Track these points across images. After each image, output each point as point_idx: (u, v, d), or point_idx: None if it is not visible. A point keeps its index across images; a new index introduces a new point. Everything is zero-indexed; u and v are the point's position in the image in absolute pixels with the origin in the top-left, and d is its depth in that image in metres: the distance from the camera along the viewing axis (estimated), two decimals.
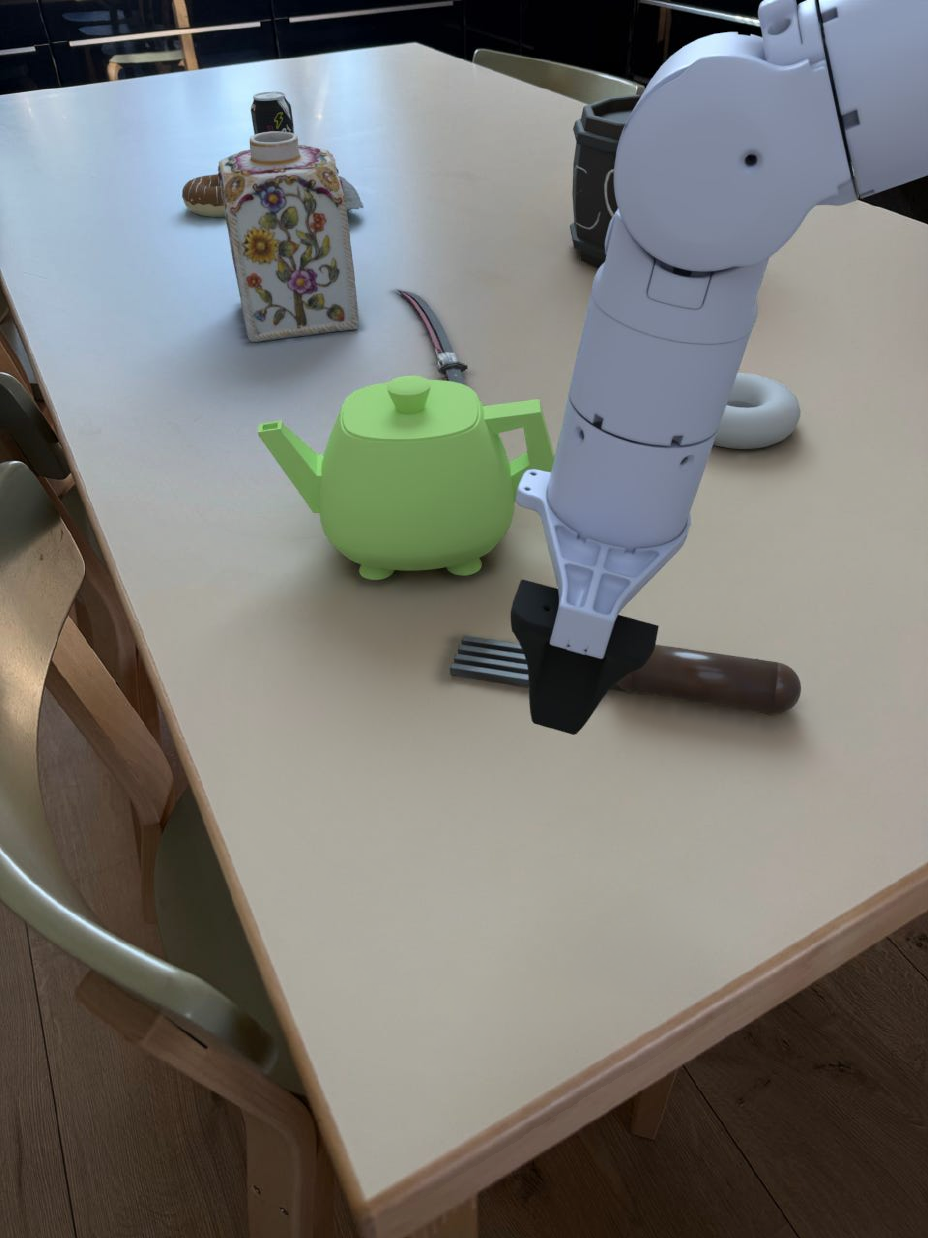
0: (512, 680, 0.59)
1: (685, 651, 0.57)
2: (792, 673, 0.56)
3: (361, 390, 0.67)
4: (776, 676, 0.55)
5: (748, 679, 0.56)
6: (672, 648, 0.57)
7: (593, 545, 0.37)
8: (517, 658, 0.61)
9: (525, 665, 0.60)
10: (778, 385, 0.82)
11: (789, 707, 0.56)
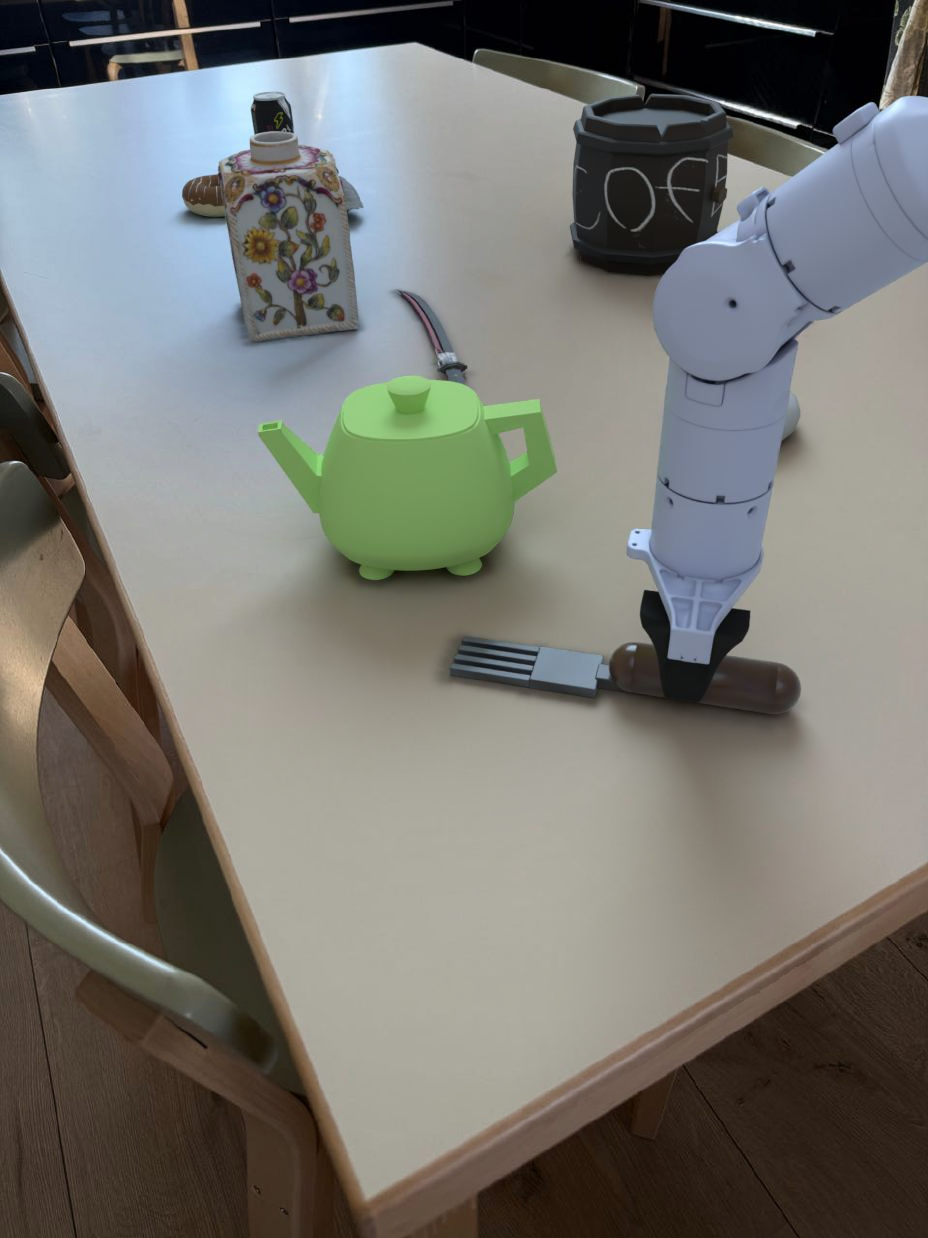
0: (512, 680, 0.59)
1: None
2: (792, 673, 0.56)
3: (361, 390, 0.67)
4: (776, 676, 0.55)
5: (748, 679, 0.56)
6: None
7: (690, 581, 0.50)
8: (517, 658, 0.61)
9: (525, 665, 0.60)
10: None
11: (789, 707, 0.56)
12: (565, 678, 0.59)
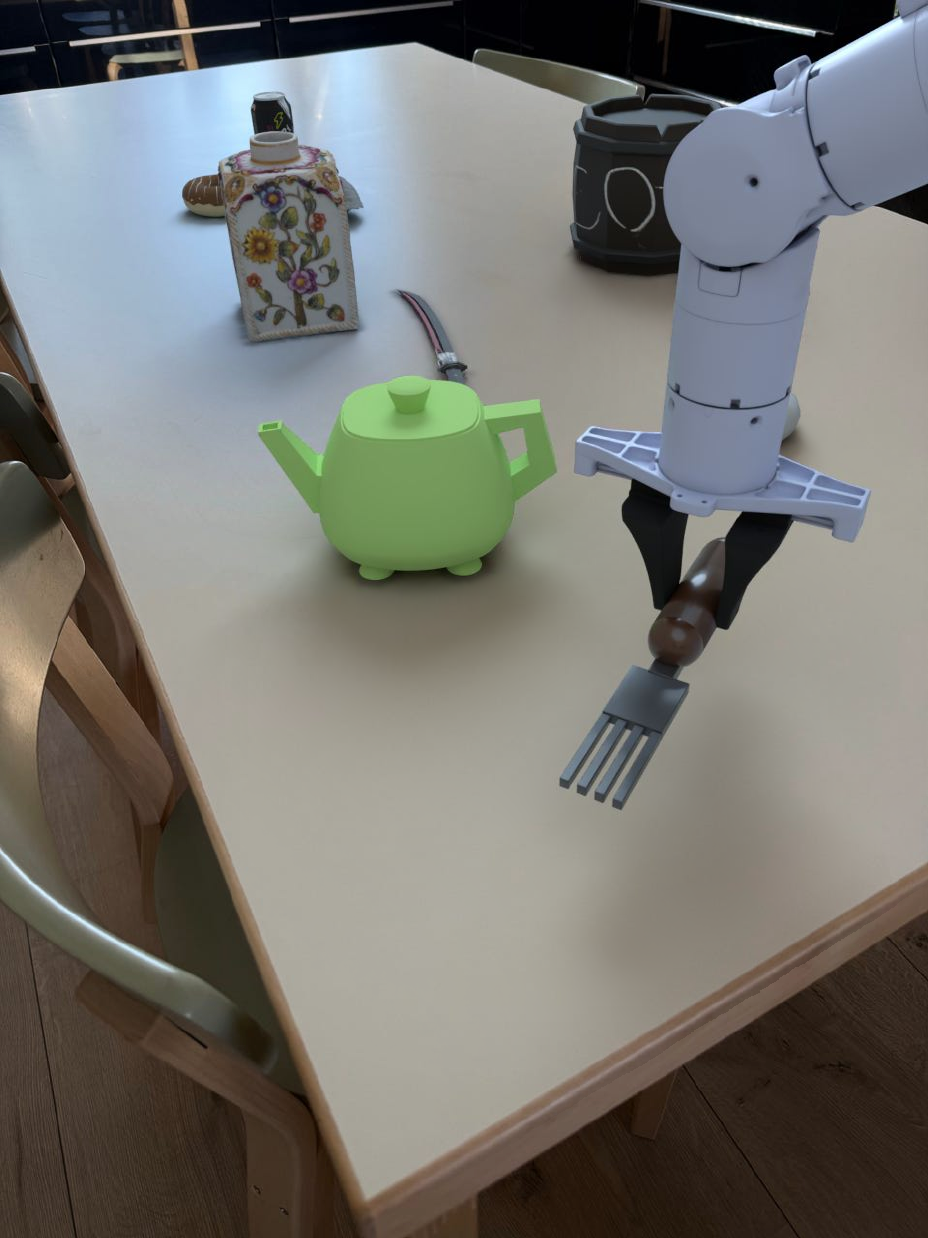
0: (653, 750, 0.48)
1: (690, 588, 0.54)
2: None
3: (361, 390, 0.67)
4: None
5: None
6: (682, 596, 0.53)
7: (774, 484, 0.47)
8: (618, 735, 0.48)
9: (633, 731, 0.49)
10: None
11: None
12: (666, 702, 0.50)
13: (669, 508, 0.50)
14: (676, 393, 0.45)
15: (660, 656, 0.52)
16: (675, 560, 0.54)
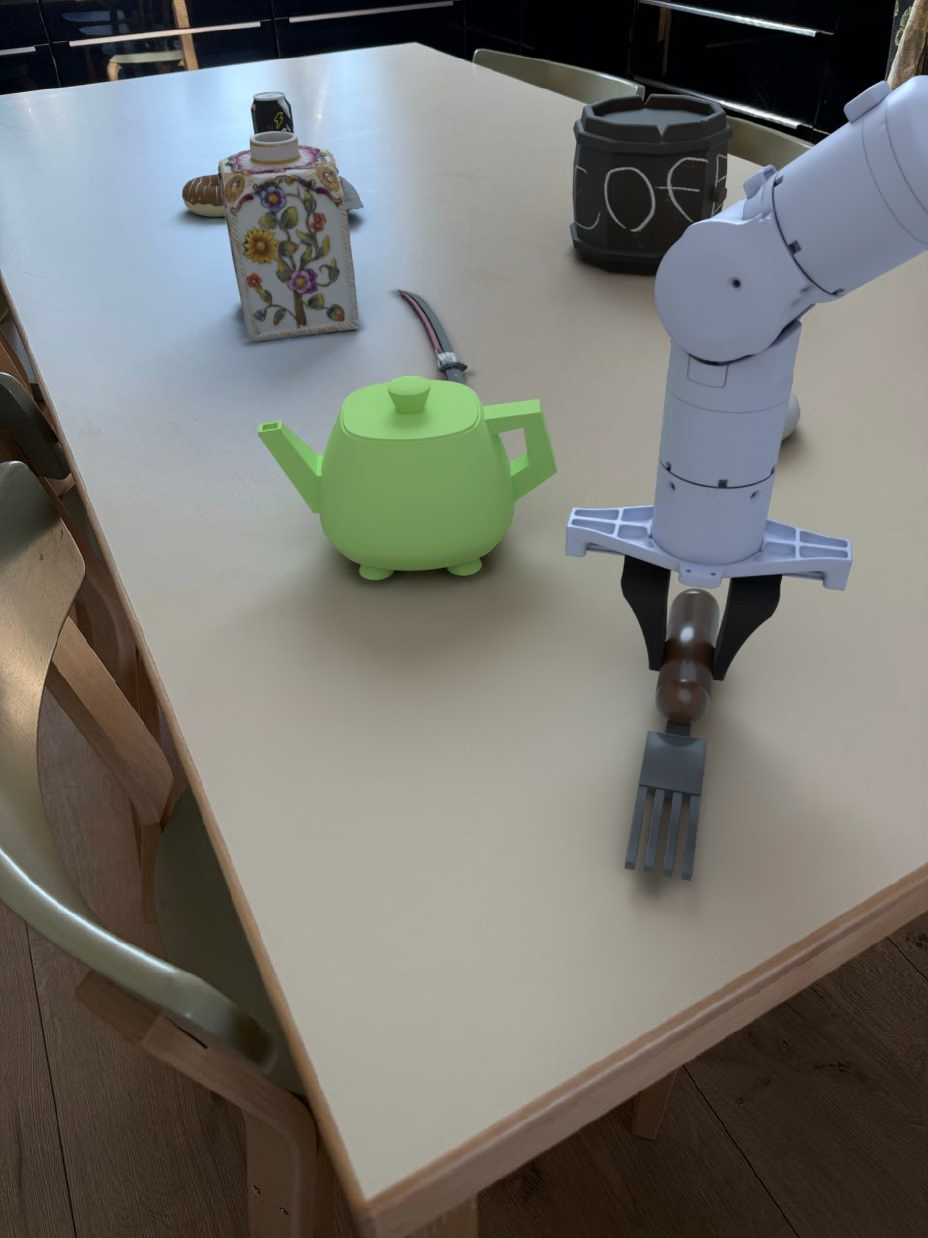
0: (698, 814, 0.50)
1: (683, 646, 0.56)
2: (697, 588, 0.61)
3: (361, 390, 0.67)
4: (706, 596, 0.60)
5: (710, 615, 0.59)
6: (679, 655, 0.56)
7: (765, 546, 0.51)
8: (662, 806, 0.50)
9: (674, 799, 0.50)
10: None
11: None
12: (693, 763, 0.52)
13: (665, 578, 0.52)
14: (676, 477, 0.47)
15: (673, 718, 0.54)
16: (664, 622, 0.56)
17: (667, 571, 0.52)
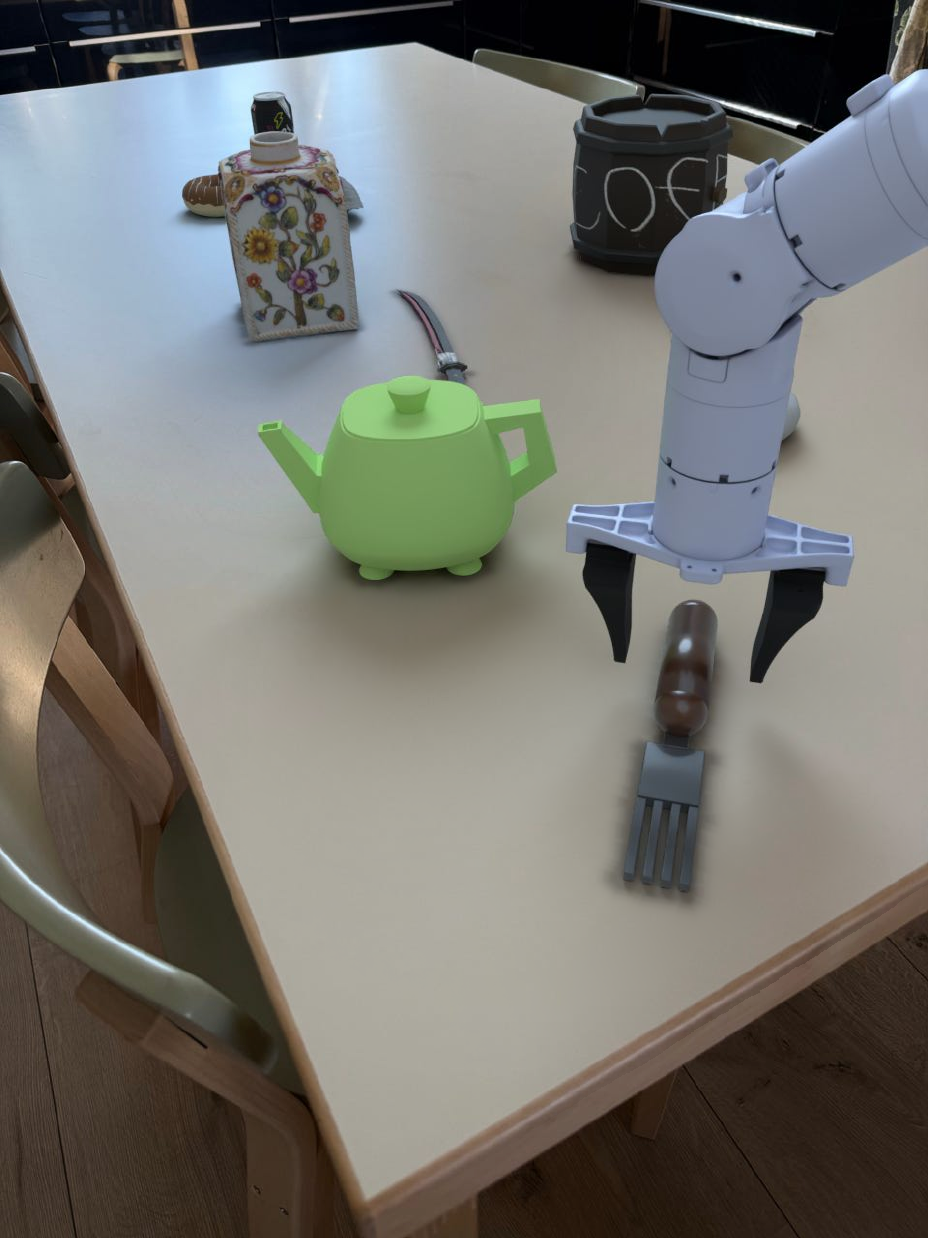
0: (696, 825, 0.50)
1: (681, 658, 0.57)
2: None
3: (361, 390, 0.67)
4: (704, 607, 0.60)
5: (708, 626, 0.59)
6: (677, 667, 0.56)
7: (766, 542, 0.50)
8: (660, 817, 0.51)
9: (672, 810, 0.51)
10: None
11: None
12: (691, 774, 0.53)
13: (626, 570, 0.53)
14: (677, 472, 0.47)
15: (672, 729, 0.54)
16: (629, 614, 0.56)
17: (629, 562, 0.53)
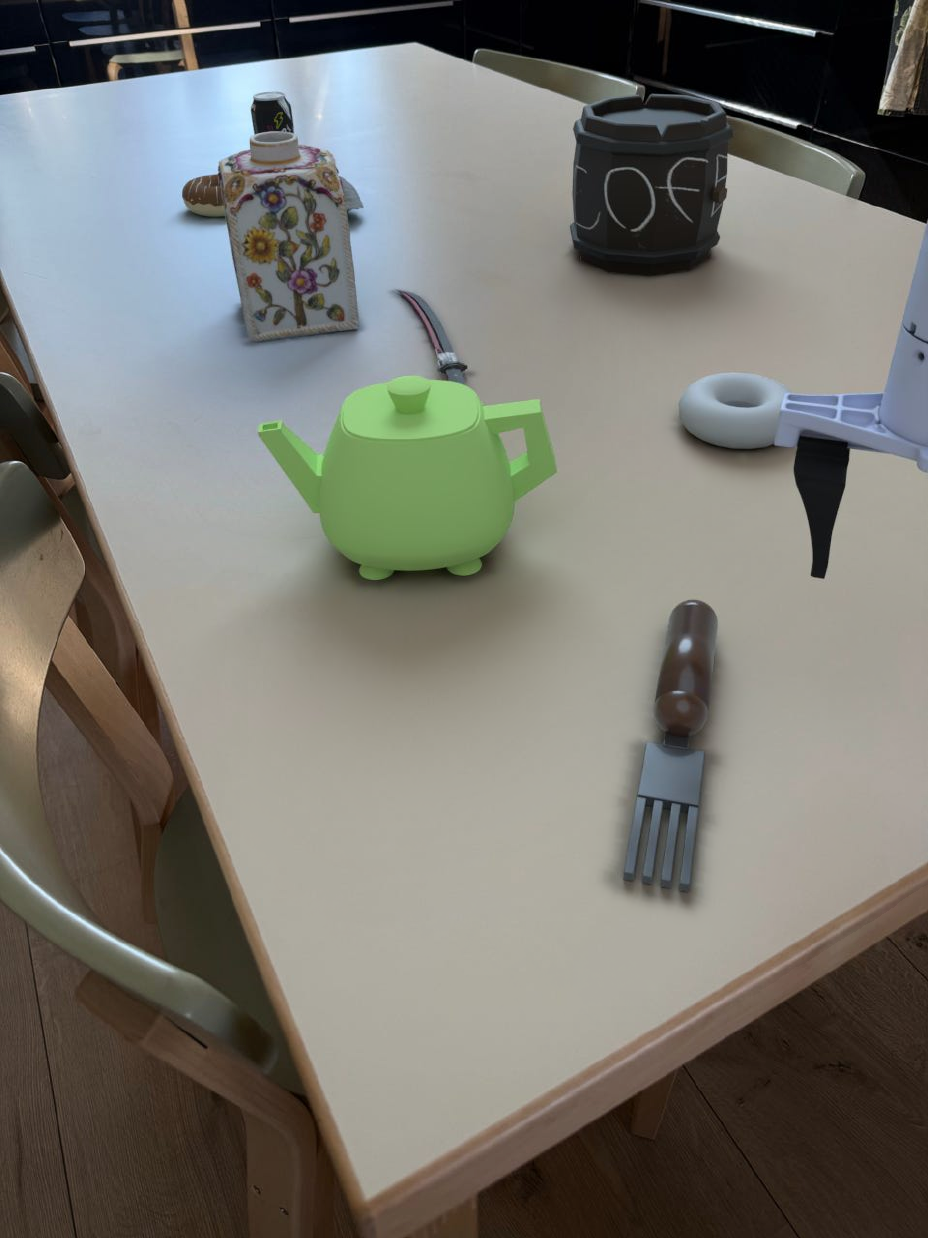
0: (696, 825, 0.50)
1: (681, 658, 0.57)
2: None
3: (361, 390, 0.67)
4: (704, 607, 0.60)
5: (708, 626, 0.59)
6: (677, 667, 0.56)
7: None
8: (660, 817, 0.51)
9: (672, 810, 0.51)
10: (778, 385, 0.82)
11: None
12: (691, 774, 0.53)
13: (844, 466, 0.47)
14: None
15: (672, 729, 0.54)
16: None
17: (846, 458, 0.47)
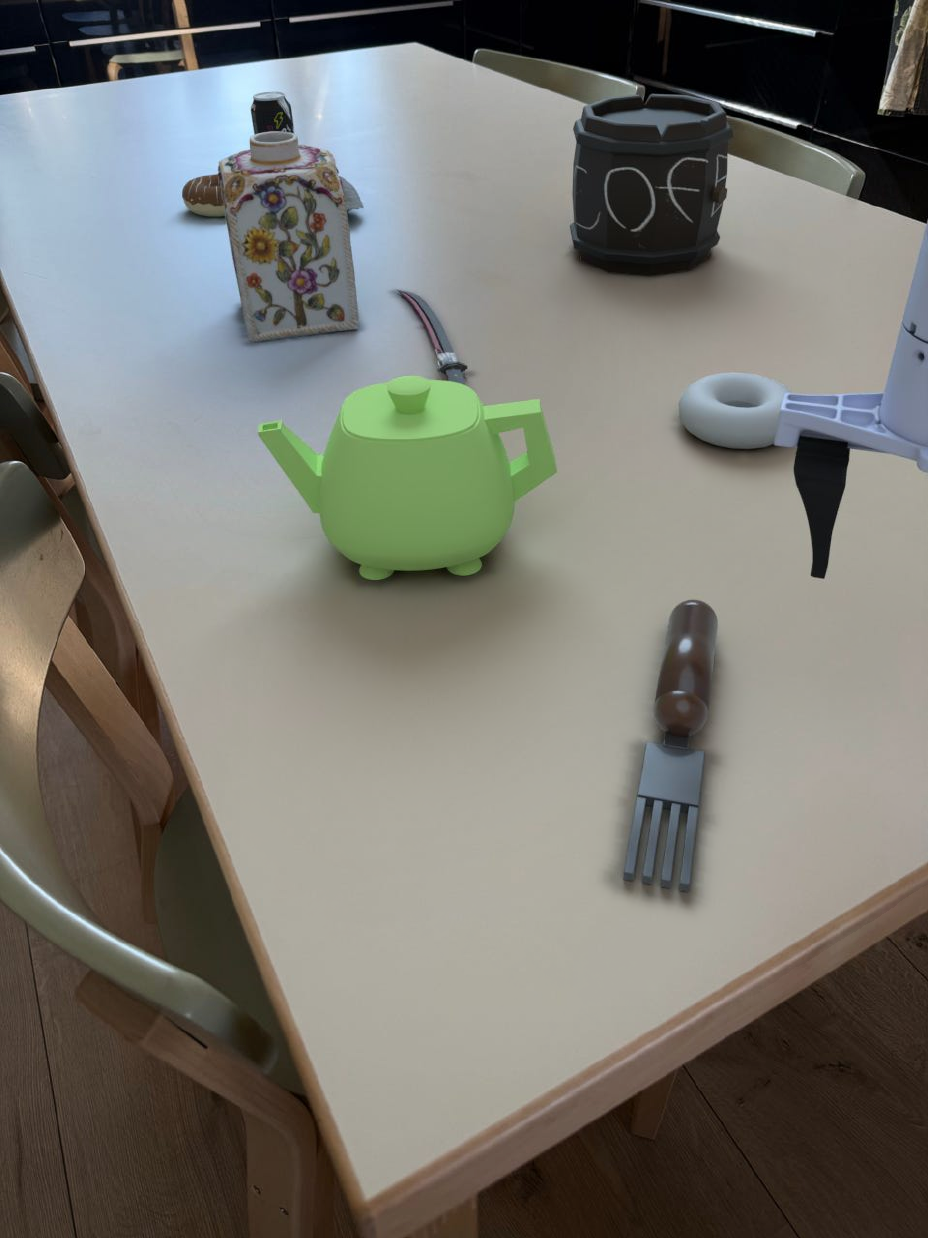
0: (696, 825, 0.50)
1: (681, 658, 0.57)
2: None
3: (361, 390, 0.67)
4: (704, 607, 0.60)
5: (708, 626, 0.59)
6: (677, 667, 0.56)
7: None
8: (660, 817, 0.51)
9: (672, 810, 0.51)
10: (778, 385, 0.82)
11: None
12: (691, 774, 0.53)
13: (844, 466, 0.47)
14: None
15: (672, 729, 0.54)
16: None
17: (847, 458, 0.47)
